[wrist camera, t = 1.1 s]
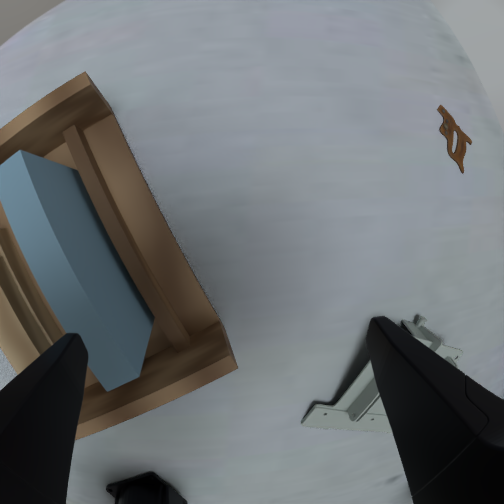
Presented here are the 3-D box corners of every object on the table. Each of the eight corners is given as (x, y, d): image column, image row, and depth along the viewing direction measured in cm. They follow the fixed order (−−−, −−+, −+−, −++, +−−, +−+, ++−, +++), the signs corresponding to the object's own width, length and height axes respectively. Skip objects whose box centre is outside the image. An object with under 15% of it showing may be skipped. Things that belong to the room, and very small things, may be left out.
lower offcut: (45, 368, 21) (36, 378, 19) (-20, 249, 19) (-33, 252, 17) (74, 352, 22) (66, 363, 20) (7, 228, 19) (-6, 229, 17)
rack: (68, 403, 23) (44, 450, 16) (-36, 213, 19) (-86, 216, 12) (224, 327, 25) (238, 368, 18) (110, 106, 21) (85, 71, 14)
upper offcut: (38, 377, 19) (28, 390, 17) (-21, 275, 17) (-35, 280, 16) (64, 364, 20) (55, 377, 18) (2, 256, 18) (-12, 260, 16)
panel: (132, 329, 22) (107, 392, 14) (56, 184, 20) (-10, 172, 11) (155, 317, 23) (139, 376, 14) (78, 170, 20) (20, 149, 11)
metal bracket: (390, 329, 21) (486, 357, 25) (361, 291, 27) (458, 327, 30) (297, 445, 26) (405, 449, 29) (287, 402, 31) (389, 415, 35)
